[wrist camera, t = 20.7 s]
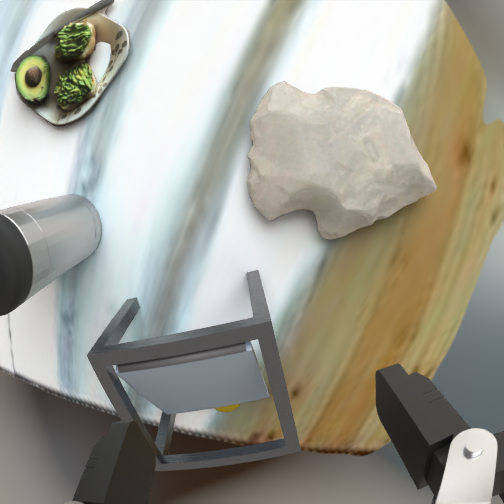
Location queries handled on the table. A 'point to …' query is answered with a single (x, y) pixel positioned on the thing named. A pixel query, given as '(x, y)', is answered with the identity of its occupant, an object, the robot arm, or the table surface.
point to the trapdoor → (198, 379)
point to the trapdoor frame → (245, 330)
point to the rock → (333, 158)
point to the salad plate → (70, 64)
